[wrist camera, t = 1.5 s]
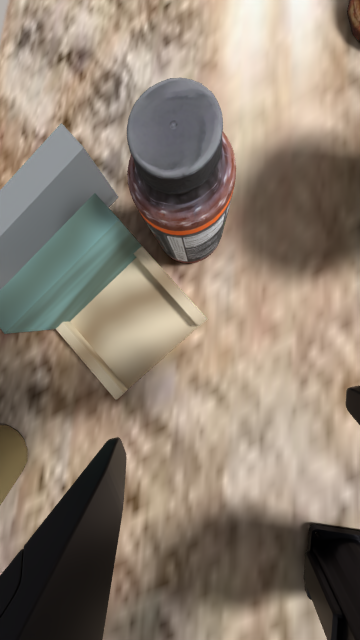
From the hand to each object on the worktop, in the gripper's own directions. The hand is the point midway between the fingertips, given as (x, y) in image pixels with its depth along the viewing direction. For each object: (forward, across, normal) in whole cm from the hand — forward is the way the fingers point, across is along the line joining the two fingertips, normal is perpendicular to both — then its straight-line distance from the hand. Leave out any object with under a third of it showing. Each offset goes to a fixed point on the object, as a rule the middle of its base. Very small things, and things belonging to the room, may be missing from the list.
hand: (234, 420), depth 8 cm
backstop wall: (+17, +11, -10) cm, 23 cm away
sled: (+14, +6, -2) cm, 15 cm away
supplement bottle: (+15, -1, -8) cm, 17 cm away
